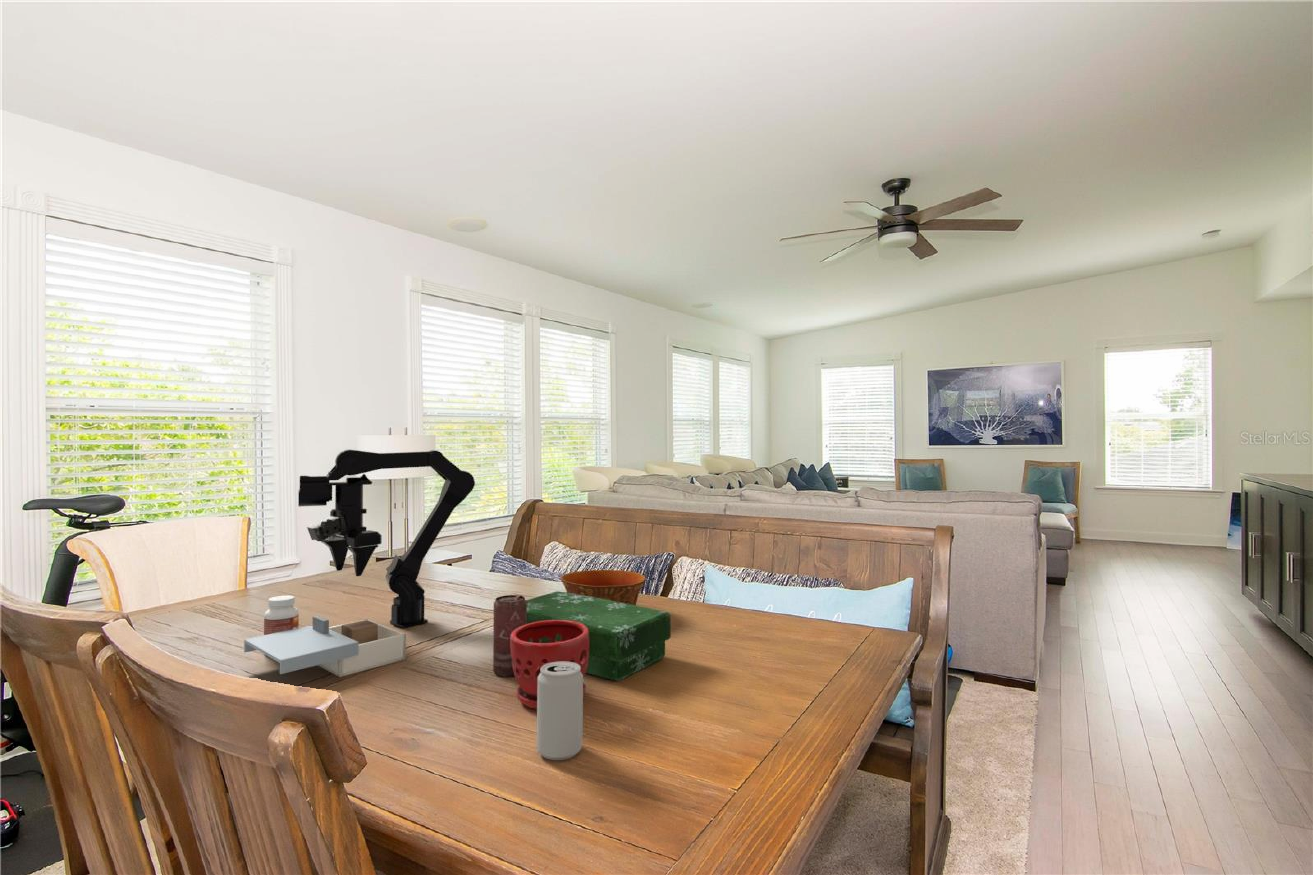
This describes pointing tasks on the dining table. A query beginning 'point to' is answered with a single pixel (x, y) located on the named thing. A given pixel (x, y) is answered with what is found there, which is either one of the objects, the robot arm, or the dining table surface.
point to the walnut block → (361, 631)
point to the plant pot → (545, 652)
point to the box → (608, 631)
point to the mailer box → (370, 652)
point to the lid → (304, 646)
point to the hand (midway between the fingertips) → (348, 573)
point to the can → (506, 630)
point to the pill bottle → (281, 615)
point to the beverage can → (559, 710)
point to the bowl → (605, 584)
